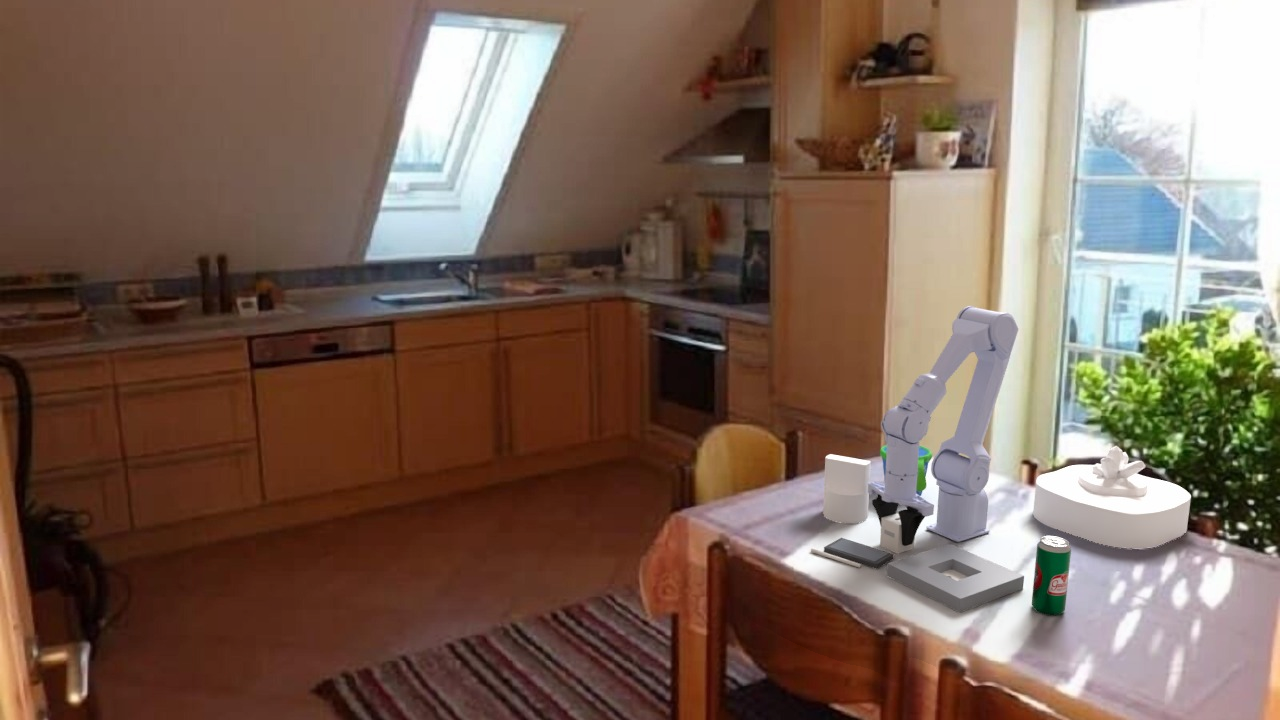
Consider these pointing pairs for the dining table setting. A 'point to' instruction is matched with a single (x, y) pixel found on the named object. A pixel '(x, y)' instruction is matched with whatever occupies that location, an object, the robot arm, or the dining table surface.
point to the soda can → (1051, 575)
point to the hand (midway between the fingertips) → (897, 539)
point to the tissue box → (1112, 503)
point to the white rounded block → (846, 489)
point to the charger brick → (893, 534)
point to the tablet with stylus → (855, 554)
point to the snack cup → (923, 462)
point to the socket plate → (955, 577)
